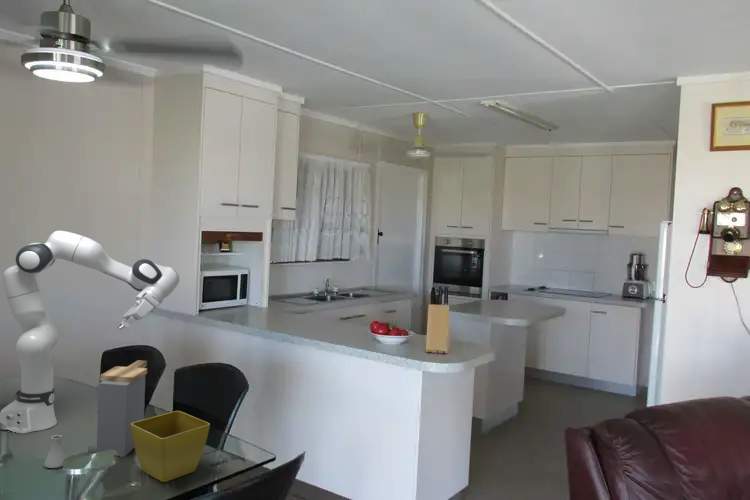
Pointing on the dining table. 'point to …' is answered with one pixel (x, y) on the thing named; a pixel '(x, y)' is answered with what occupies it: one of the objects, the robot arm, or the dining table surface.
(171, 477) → the flower pot
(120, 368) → the oak paddle board
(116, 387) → the grey post
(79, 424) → the dining table surface
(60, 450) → the flask
